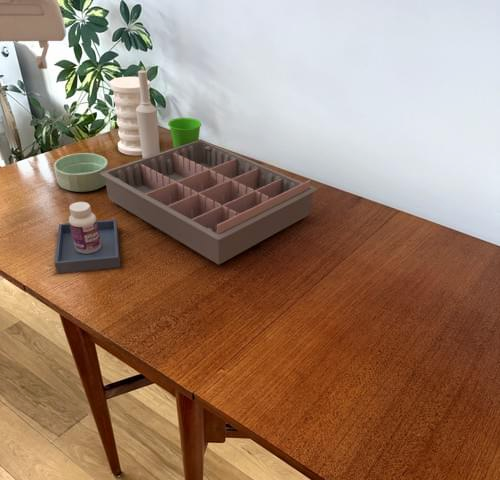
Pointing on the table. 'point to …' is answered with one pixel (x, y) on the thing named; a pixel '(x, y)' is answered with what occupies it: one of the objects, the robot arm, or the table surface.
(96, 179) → the bowl
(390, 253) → the table surface
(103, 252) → the tray
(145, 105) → the bottle
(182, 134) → the cup
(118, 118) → the decorative container
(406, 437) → the table surface
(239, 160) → the organizer tray
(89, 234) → the pill bottle
